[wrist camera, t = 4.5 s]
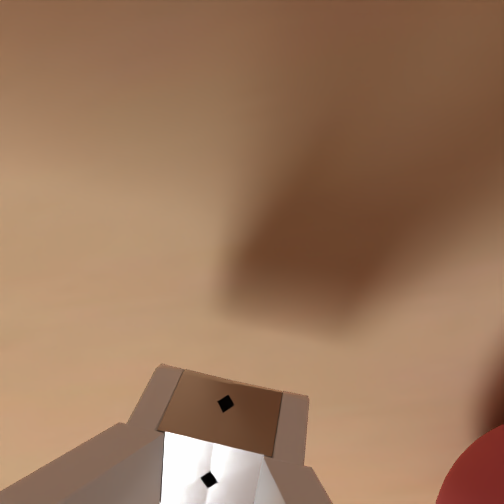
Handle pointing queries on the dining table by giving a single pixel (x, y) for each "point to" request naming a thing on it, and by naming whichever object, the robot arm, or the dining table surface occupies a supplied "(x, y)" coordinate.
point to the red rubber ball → (477, 473)
